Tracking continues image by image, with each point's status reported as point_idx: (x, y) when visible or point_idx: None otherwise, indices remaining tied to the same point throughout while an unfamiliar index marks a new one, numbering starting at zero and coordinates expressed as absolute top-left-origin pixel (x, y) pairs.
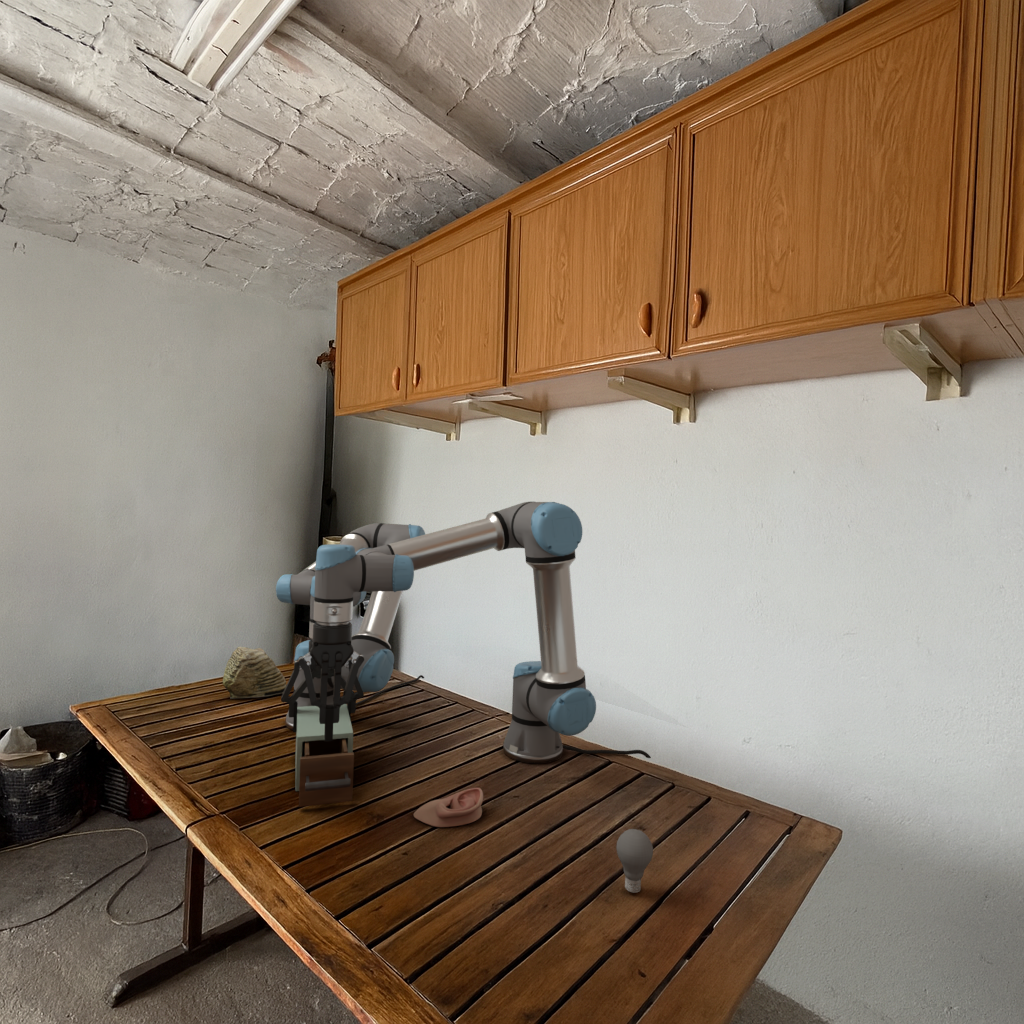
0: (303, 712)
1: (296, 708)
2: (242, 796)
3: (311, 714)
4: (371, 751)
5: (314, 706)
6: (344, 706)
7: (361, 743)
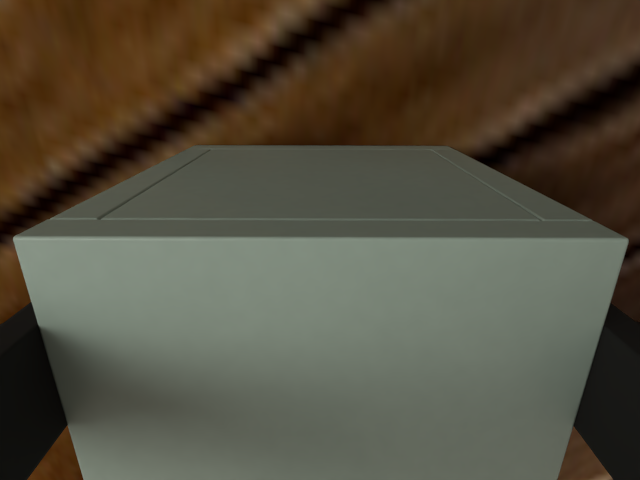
0: (126, 417)
1: (24, 470)
2: (63, 458)
3: (211, 473)
4: (576, 183)
5: (226, 263)
6: (572, 333)
7: (562, 51)
